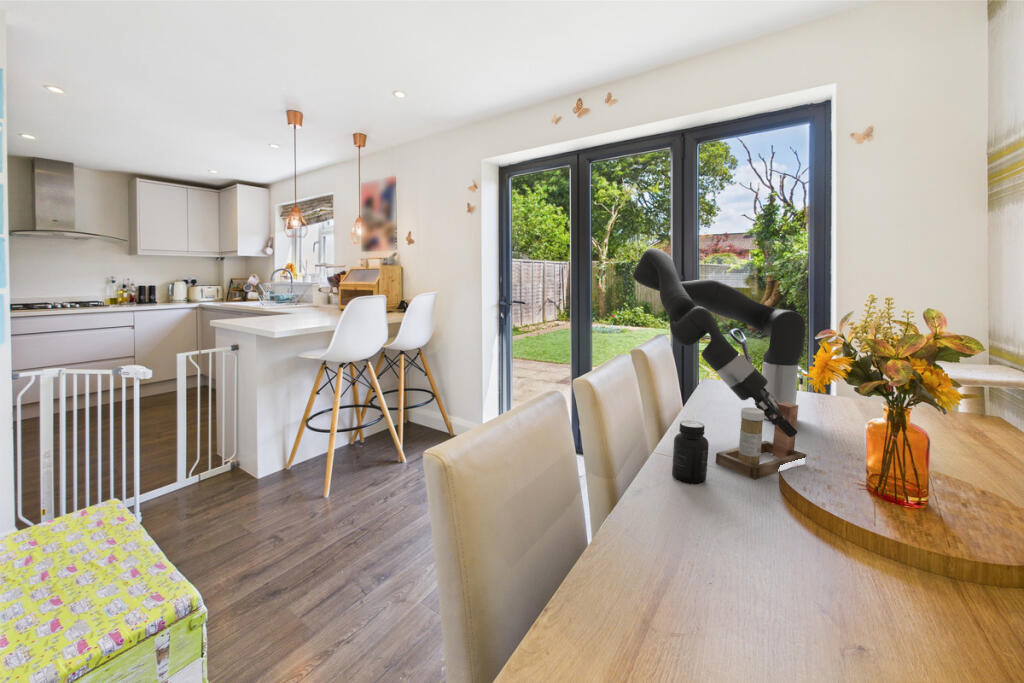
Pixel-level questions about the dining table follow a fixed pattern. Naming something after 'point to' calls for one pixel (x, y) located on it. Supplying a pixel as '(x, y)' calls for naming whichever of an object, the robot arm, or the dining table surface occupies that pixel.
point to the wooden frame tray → (767, 449)
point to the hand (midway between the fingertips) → (792, 429)
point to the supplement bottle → (690, 453)
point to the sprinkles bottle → (751, 435)
